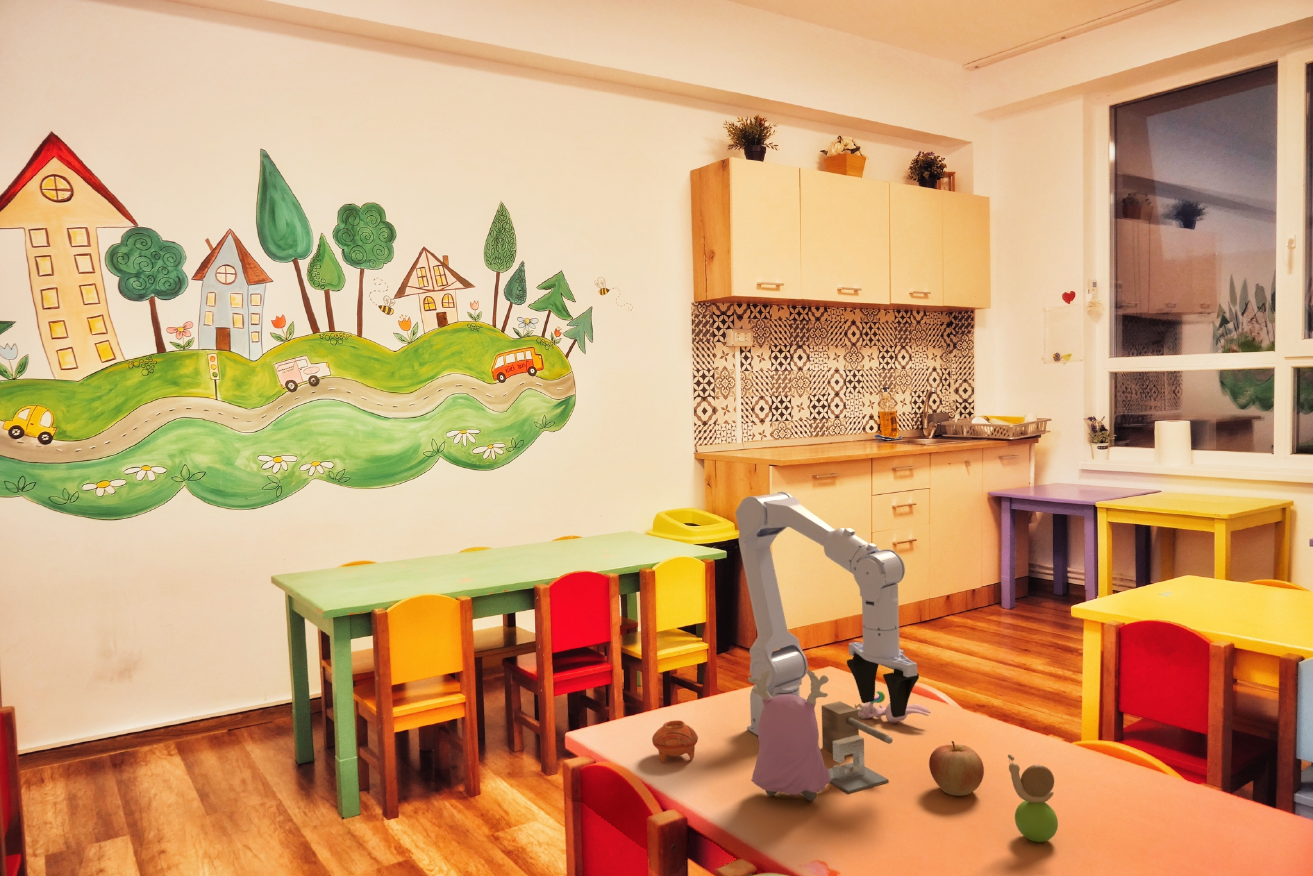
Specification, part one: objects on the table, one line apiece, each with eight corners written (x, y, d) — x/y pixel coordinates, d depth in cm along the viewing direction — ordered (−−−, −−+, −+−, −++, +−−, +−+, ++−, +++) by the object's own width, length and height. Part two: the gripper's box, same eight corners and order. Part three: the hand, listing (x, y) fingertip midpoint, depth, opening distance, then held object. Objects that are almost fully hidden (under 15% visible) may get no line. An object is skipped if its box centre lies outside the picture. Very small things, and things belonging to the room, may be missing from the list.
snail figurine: (1001, 832, 124) (999, 747, 124) (1045, 828, 125) (1043, 744, 124) (1020, 851, 119) (1018, 763, 118) (1066, 848, 119) (1064, 760, 119)
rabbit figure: (848, 727, 169) (926, 728, 160) (842, 696, 169) (920, 695, 161) (860, 717, 174) (936, 717, 166) (854, 686, 174) (930, 685, 166)
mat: (817, 774, 145) (817, 772, 145) (856, 764, 149) (856, 761, 149) (848, 793, 138) (848, 790, 138) (888, 781, 141) (888, 779, 141)
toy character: (835, 787, 140) (832, 662, 139) (825, 817, 130) (822, 682, 130) (759, 778, 144) (756, 657, 143) (745, 807, 134) (741, 676, 134)
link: (833, 778, 143) (832, 741, 142) (858, 771, 145) (857, 735, 145) (839, 781, 141) (838, 744, 141) (864, 774, 143) (863, 738, 143)
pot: (678, 770, 148) (669, 729, 148) (648, 768, 153) (640, 729, 154) (711, 755, 153) (703, 715, 154) (682, 753, 159) (673, 715, 160)
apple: (927, 799, 135) (926, 747, 135) (931, 778, 142) (930, 729, 142) (983, 807, 132) (982, 754, 132) (985, 784, 139) (984, 734, 139)
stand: (822, 747, 156) (821, 705, 156) (840, 742, 158) (839, 701, 157) (882, 780, 142) (881, 734, 142) (901, 775, 144) (900, 729, 143)
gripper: (931, 632, 139) (933, 717, 140) (871, 613, 152) (873, 691, 153) (896, 639, 136) (898, 726, 137) (837, 619, 149) (840, 699, 150)
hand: (882, 708), depth 145 cm, fingers open, 7 cm apart
